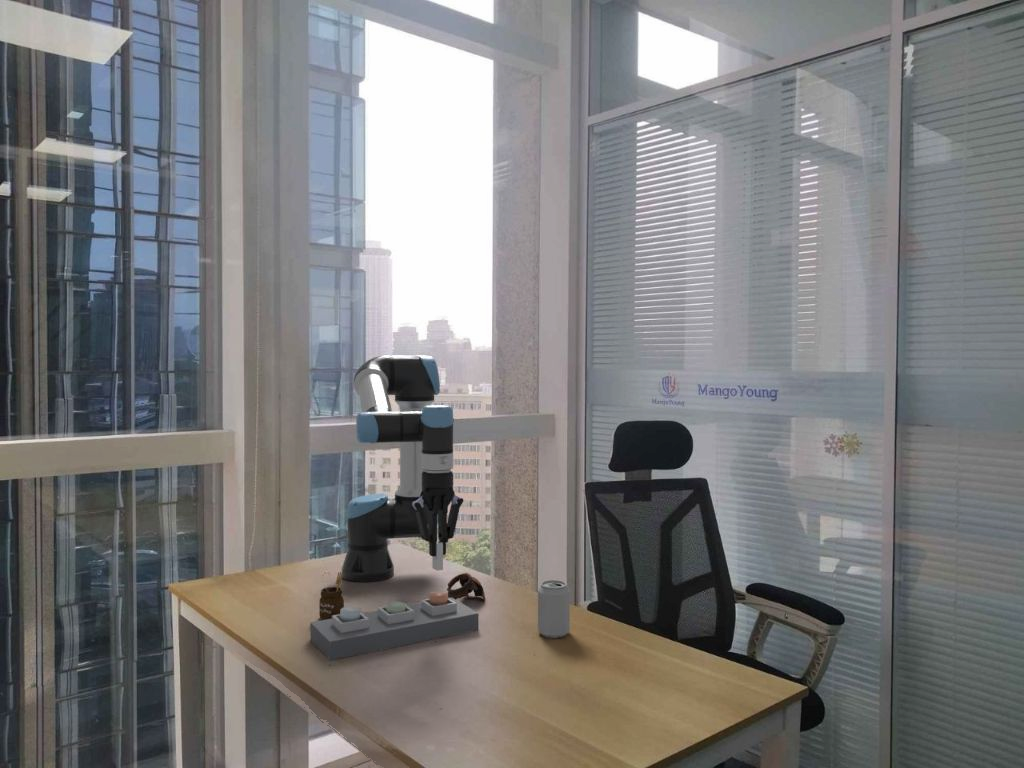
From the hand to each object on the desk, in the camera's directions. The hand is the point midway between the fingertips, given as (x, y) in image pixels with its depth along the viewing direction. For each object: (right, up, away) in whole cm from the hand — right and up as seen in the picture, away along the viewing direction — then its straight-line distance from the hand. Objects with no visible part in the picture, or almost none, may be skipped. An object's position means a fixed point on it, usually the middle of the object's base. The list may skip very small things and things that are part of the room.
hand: (437, 568), depth 188 cm
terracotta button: (0, -8, +1) cm, 8 cm away
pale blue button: (-19, -9, -11) cm, 23 cm away
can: (+28, -15, -4) cm, 31 cm away
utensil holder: (-27, -14, +7) cm, 31 cm away
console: (-9, -14, -5) cm, 18 cm away
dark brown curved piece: (+6, -14, +21) cm, 26 cm away
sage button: (-9, -9, -5) cm, 14 cm away
